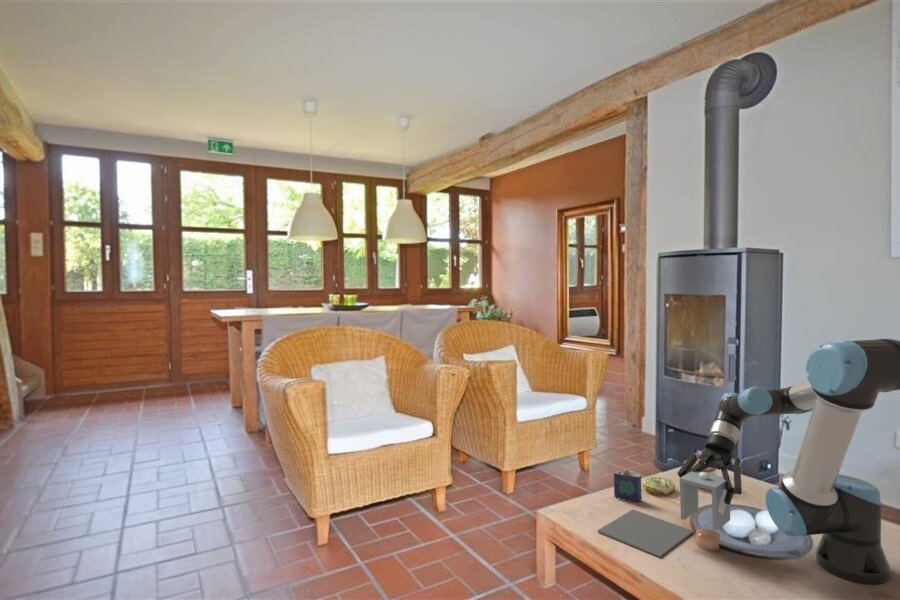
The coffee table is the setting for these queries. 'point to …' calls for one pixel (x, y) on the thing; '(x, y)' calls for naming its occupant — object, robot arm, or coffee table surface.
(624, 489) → the flask
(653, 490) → the decorated donut
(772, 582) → the coffee table surface
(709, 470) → the lidded jar
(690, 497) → the grey arch stand
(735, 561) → the coffee table surface
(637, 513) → the mat
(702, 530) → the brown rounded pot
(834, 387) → the robot arm
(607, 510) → the coffee table surface
